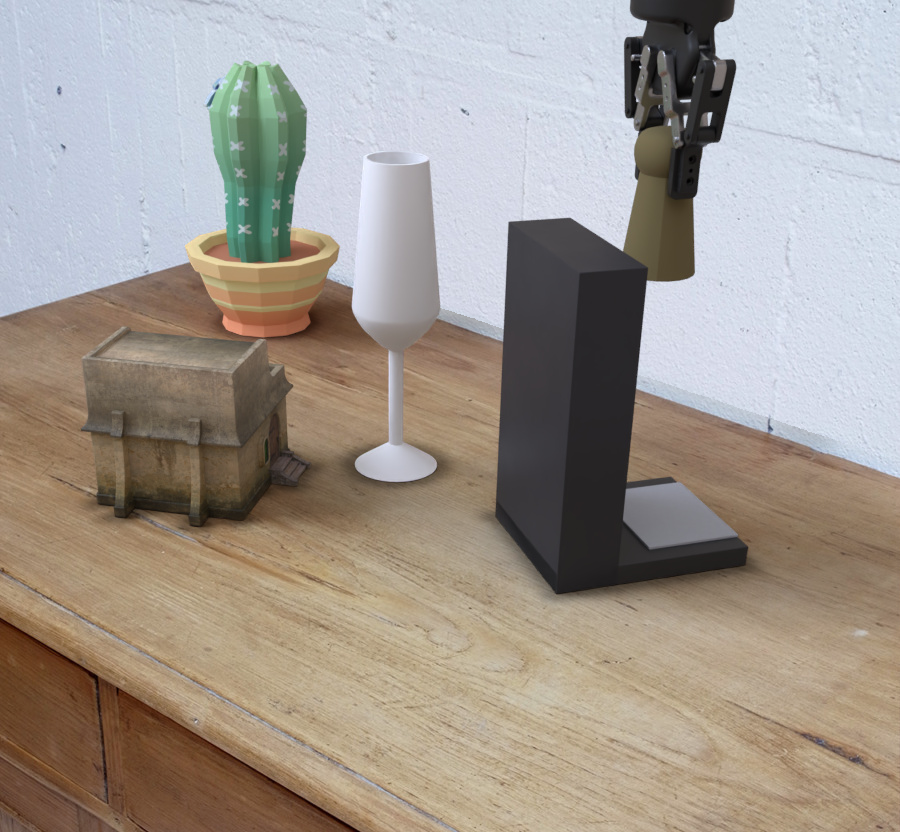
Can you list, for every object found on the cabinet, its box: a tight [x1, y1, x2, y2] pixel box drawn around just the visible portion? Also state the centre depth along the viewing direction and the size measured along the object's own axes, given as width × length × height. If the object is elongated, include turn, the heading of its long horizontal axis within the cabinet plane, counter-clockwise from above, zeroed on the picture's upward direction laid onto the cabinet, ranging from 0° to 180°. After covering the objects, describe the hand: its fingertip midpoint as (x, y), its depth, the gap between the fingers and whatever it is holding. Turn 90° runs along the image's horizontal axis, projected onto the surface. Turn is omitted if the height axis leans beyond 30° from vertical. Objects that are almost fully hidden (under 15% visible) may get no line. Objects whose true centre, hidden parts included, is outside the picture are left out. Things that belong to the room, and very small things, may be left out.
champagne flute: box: [351, 150, 441, 483], centre depth 100 cm, size 7×7×24 cm
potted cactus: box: [184, 60, 341, 338], centre depth 129 cm, size 15×15×25 cm
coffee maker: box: [494, 217, 749, 595], centre depth 90 cm, size 14×12×22 cm
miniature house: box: [80, 326, 312, 528], centre depth 100 cm, size 15×14×11 cm
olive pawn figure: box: [622, 125, 704, 283], centre depth 103 cm, size 6×6×11 cm
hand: (664, 188), depth 102 cm, fingers closed on olive pawn figure, 5 cm apart
